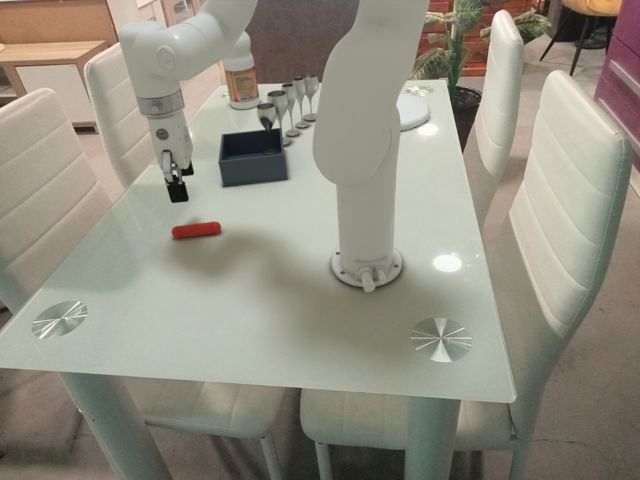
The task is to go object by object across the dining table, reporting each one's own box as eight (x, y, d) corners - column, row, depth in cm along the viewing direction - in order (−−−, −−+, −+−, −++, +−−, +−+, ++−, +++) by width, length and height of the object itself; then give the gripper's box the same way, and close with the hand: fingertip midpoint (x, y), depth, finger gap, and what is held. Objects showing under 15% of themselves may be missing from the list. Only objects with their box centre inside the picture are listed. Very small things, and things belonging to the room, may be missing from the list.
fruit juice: (225, 107, 153) (206, 12, 136) (243, 97, 159) (228, 5, 143) (248, 111, 149) (231, 14, 132) (266, 101, 155) (252, 7, 138)
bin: (287, 179, 114) (284, 154, 110) (223, 186, 113) (218, 162, 109) (284, 150, 126) (281, 127, 122) (226, 157, 125) (221, 134, 121)
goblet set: (276, 155, 122) (269, 105, 114) (257, 152, 125) (249, 103, 117) (324, 114, 142) (321, 69, 134) (307, 112, 144) (303, 67, 136)
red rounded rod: (222, 228, 99) (220, 218, 98) (221, 234, 97) (219, 225, 96) (173, 233, 99) (170, 224, 97) (172, 240, 97) (169, 231, 95)
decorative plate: (338, 120, 129) (344, 87, 148) (339, 134, 131) (345, 100, 151) (433, 118, 126) (426, 85, 145) (432, 133, 128) (425, 98, 148)
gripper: (176, 119, 74) (199, 210, 85) (188, 82, 88) (206, 164, 99) (127, 124, 74) (156, 215, 84) (147, 85, 88) (169, 168, 98)
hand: (183, 187), depth 91 cm, fingers open, 9 cm apart
